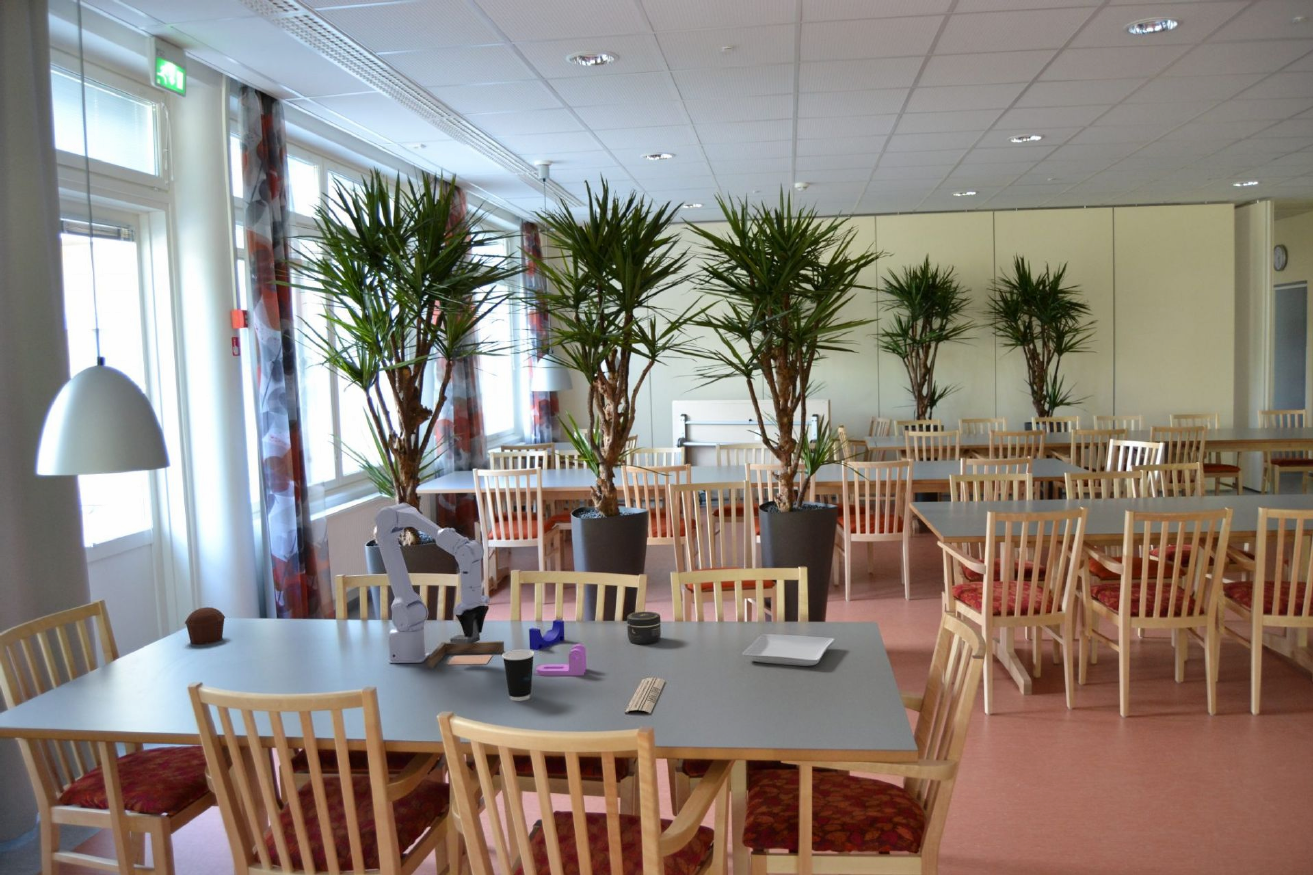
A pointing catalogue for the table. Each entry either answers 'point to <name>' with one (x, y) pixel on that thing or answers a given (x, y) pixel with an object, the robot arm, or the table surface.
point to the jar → (643, 627)
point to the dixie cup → (519, 673)
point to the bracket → (573, 668)
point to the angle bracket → (468, 639)
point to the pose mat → (470, 660)
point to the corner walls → (464, 649)
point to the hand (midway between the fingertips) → (473, 634)
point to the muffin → (205, 625)
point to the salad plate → (788, 649)
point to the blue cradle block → (546, 636)
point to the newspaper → (646, 695)
